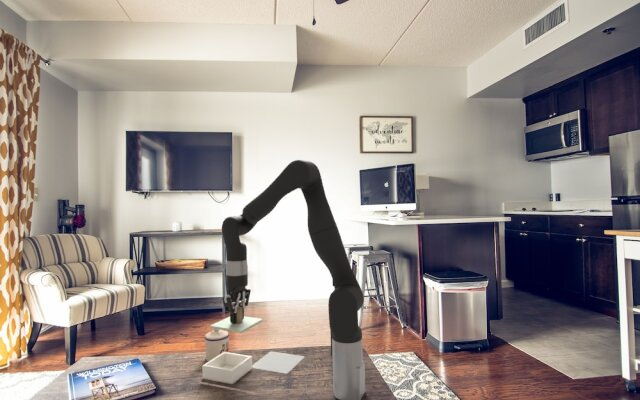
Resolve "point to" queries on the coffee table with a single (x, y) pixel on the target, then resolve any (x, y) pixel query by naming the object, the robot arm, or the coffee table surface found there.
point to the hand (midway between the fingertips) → (237, 321)
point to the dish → (227, 367)
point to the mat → (278, 362)
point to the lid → (240, 325)
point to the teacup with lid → (216, 343)
